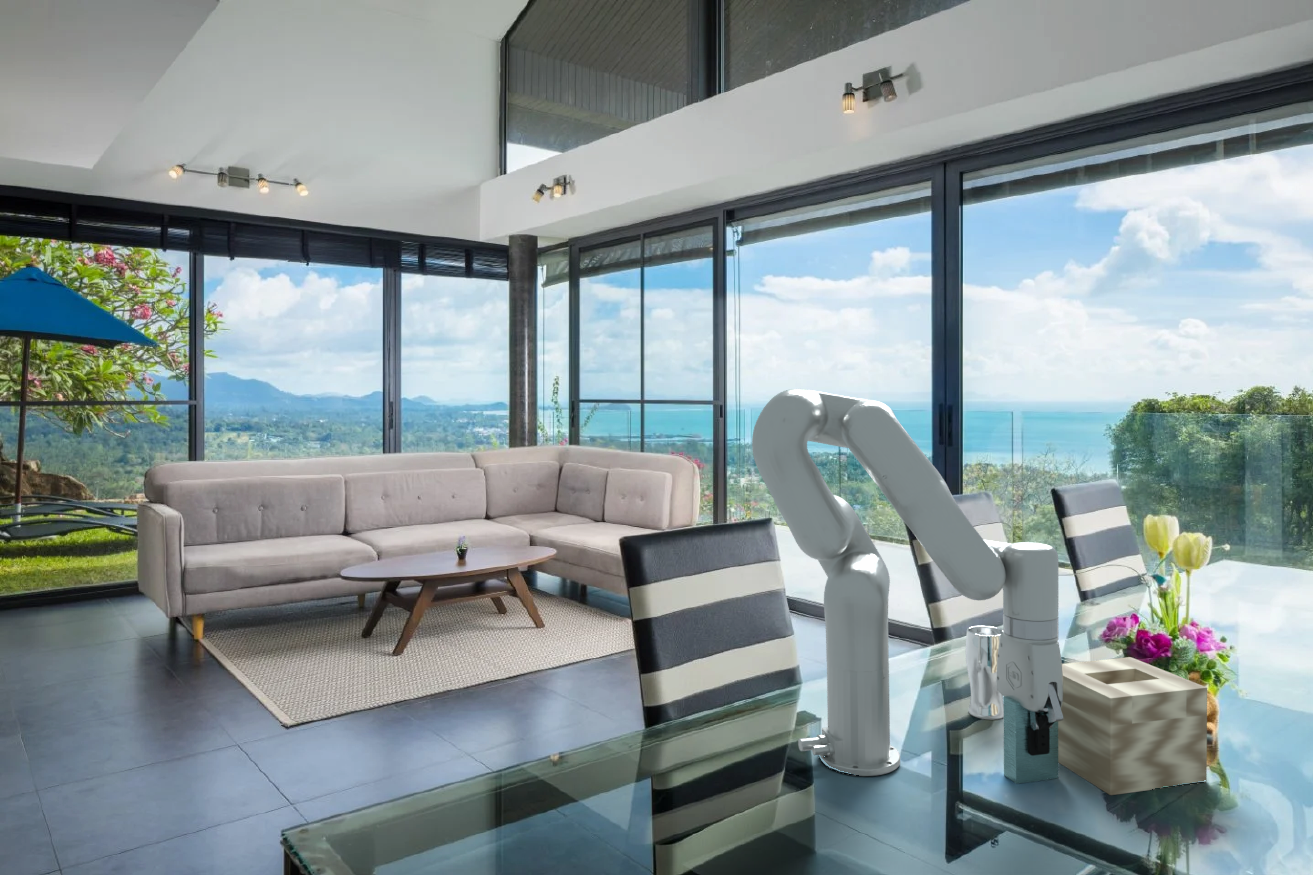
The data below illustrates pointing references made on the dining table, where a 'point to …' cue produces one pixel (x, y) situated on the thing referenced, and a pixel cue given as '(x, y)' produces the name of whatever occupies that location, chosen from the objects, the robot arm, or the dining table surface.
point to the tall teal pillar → (1026, 747)
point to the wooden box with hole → (1132, 726)
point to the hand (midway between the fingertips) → (1030, 747)
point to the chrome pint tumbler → (984, 672)
